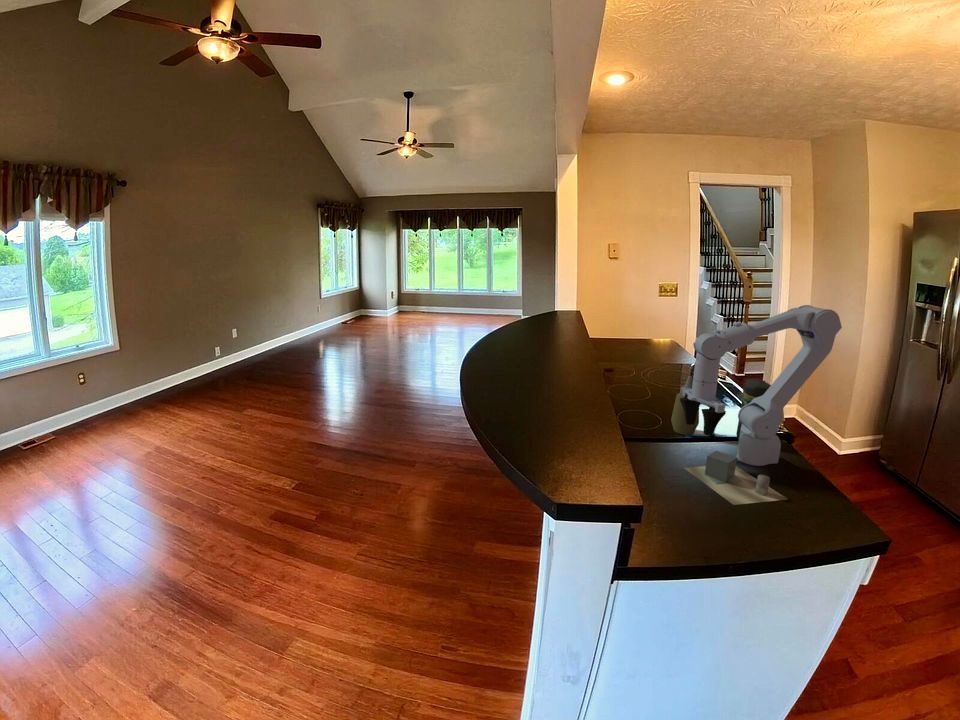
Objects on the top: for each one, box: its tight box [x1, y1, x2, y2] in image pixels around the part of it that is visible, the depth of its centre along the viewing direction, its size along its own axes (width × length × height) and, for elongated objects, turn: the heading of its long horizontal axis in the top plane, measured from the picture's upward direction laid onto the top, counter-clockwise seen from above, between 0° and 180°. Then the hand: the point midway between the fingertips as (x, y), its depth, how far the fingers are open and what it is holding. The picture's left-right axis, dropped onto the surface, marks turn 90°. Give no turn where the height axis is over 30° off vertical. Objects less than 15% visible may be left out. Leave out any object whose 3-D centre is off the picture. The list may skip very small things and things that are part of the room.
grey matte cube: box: [705, 450, 738, 482], centre depth 115 cm, size 5×5×5 cm
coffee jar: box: [736, 379, 772, 440], centre depth 139 cm, size 10×8×19 cm
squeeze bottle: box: [670, 375, 700, 436], centre depth 146 cm, size 8×8×18 cm
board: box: [684, 465, 789, 506], centre depth 113 cm, size 14×18×6 cm
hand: (698, 429), depth 125 cm, fingers open, 7 cm apart
